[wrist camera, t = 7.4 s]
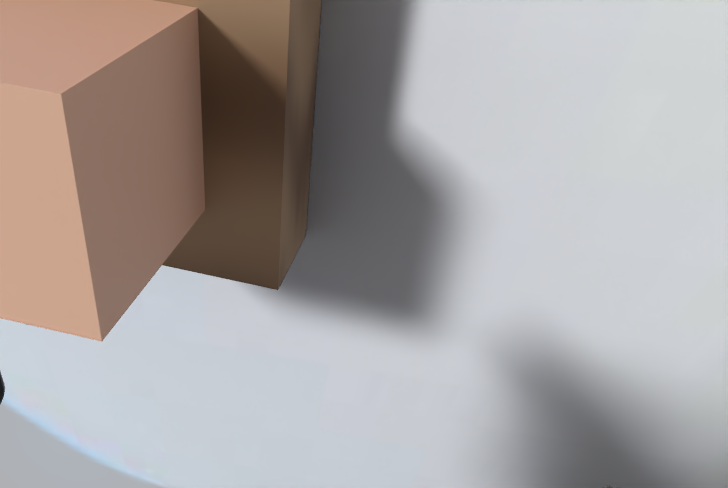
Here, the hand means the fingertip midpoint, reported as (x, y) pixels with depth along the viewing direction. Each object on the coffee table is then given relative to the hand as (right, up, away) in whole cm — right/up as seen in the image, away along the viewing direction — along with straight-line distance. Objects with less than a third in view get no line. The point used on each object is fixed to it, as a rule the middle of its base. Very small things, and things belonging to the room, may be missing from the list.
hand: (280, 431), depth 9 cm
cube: (-6, +6, +8) cm, 11 cm away
